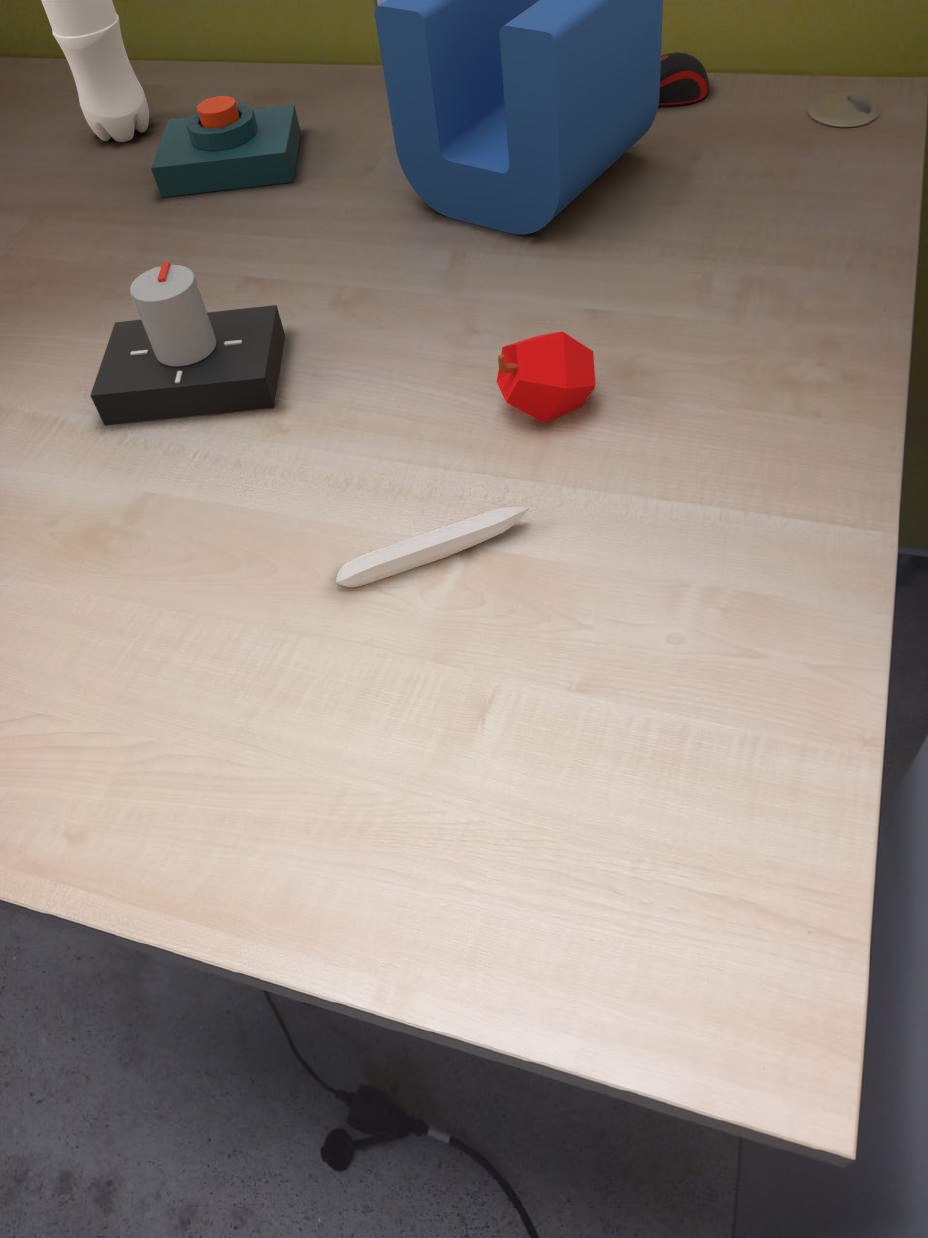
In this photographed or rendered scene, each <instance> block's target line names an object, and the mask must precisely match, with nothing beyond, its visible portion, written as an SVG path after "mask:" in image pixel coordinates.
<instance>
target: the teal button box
mask: <svg viewBox="0 0 928 1238" xmlns="http://www.w3.org/2000/svg"><path fill="white" fill-rule="evenodd" d="M236 105H237V109H238V113H239V117H240V119H239V120H237V121H236V122H235V123H233V124H230V125H227V126H225V127H221V128H212V129H210V128H204V127H202V124H201V121H200V118H199V114H198V111H196V112H195V113H194V114H192V115H191V116H188V117H180V118H171V119H168V120H167V123H166V125H165V128H164V131H163V133H162V136H161V139H160V141H159V145H158V147H157V150H156V153H155V156H154V159H153V161H152V164H151V167H150V169H151V172H152V175H153V178H154V181H155V184H156V188H157V189H158V193H159V195H160V197H161V198H167V197H177V196H185V195H194V194H195V195H196V194H203V193H212V192H220V191H229V190H236V189H237V190H239V189H247V188H255V187H264V186H271V185H272V186H273V185H281V184H289V183H290V184H291V183H293V182H294V176H295V171H296V165H297V159H298V153H299V147H300V141H301V136H302V131H301V127H300V123H299V119H298V118H299V117H298V114H297V110H296V105H295V104H288V105H278V106H271V107H263V108H262V107H261V108H254V109H253V108H251V106H249V105H247V104H246V103H239V102H236Z"/></svg>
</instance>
